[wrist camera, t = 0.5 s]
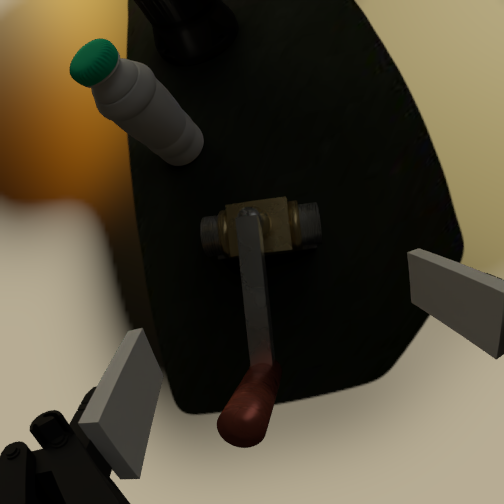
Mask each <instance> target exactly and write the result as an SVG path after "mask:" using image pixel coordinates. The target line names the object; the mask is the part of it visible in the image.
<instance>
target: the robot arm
mask: <svg viewBox="0 0 504 504" xmlns="http://www.w3.org/2000/svg"><path fill="white" fill-rule="evenodd" d="M134 1H135V3H136V4H137V5H138V7H139V8H140V9H141V11H142V12H143V13H144V15H145V16H146V18H147V19H148V20H149V22H150V23H151V25H152V28H153V34H154V40H155V45H156V48H157V50H158V52H159V53H160V54H161V56H162V57H163V58H164V59H165V60H166V61H167V62H169V63H171V64H175V65H182V66H186V65H194V64H199V63H202V62H205V61H208V60H210V59H212V58H214V57H216V56H218V55H219V54H221V53H222V52H223V51H225V50H226V49H227V48H228V47H229V46H230V45H231V44H232V42H233V41H234V39H235V38H236V36H237V32H238V23H237V21H236V18H235V15H234V13H233V12H232V10H231V9H230V8H229V7H228V6H227V5H226V4H225V3H223V2H222V1H221V0H134ZM407 256H408V266H409V276H410V289H411V302H412V303H413V304H415V305H416V306H418V307H419V308H421V309H423V310H424V311H426V312H427V313H429V314H430V315H432V316H433V317H435V318H436V319H438V320H439V321H441V322H442V323H444V324H445V325H447V326H448V327H450V328H451V329H453V330H454V331H456V332H457V333H459V334H460V335H462V336H463V337H465V338H466V339H467V340H469V341H470V342H472V343H473V344H475V345H476V346H478V347H479V348H481V349H482V350H483V351H485V352H486V353H488V354H489V355H491V356H492V357H494V358H495V359H498V358H499V357H501V356H502V355H503V354H504V280H502V279H501V278H498V277H497V278H496V277H495V276H493V275H491V274H488V273H483V272H481V271H479V270H476V269H473V268H471V267H468V266H466V265H463V264H460V263H458V262H455V261H452V260H450V259H447V258H444V257H442V256H439V255H436V254H433V253H431V252H428V251H425V250H422V249H416V250H413V251H410V252H407ZM162 379H163V374H162V372H161V369H160V367H159V366H158V363H157V361H156V358H155V356H154V355H153V351H152V349H151V347H150V345H149V342H148V340H147V338H146V335H145V333H144V330H143V328H140V329H135V330H131V331H128V332H127V334H126V336H125V337H124V339H123V341H122V343H121V344H120V346H119V348H118V350H117V351H116V353H115V355H114V357H113V359H112V360H111V362H110V364H109V366H108V368H107V369H106V371H105V373H104V375H103V377H102V378H101V380H100V382H99V384H98V386H97V387H93V388H92V389H91V390H90V391H89V392H88V393H87V394H86V395H85V397H84V399H83V400H82V402H81V405H80V406H79V408H78V411H77V412H76V413H75V415H74V417H73V419H72V421H71V422H70V424H68V422H67V421H66V419H65V418H64V416H63V415H62V414H61V413H60V412H59V411H56V410H53V411H48V412H45V413H42V414H41V415H39V416H38V417H36V419H35V420H34V421H33V422H32V424H31V426H30V432H31V433H32V434H33V436H34V437H35V438H36V440H37V441H38V442H39V444H40V445H41V447H42V448H43V449H40V450H36V451H31V450H30V449H29V448H28V447H27V445H26V444H25V443H23V442H14V443H12V444H9V445H8V446H6V447H5V449H4V450H3V452H2V453H1V456H0V504H130V503H129V502H128V500H127V499H126V498H125V496H124V495H123V494H122V492H121V491H120V490H119V489H118V487H117V486H116V484H115V483H114V482H113V481H112V480H111V479H110V474H111V471H112V470H113V471H114V472H115V473H116V474H117V476H118V477H119V478H120V479H140V475H141V470H142V466H143V461H144V456H145V451H146V447H147V443H148V438H149V434H150V429H151V425H152V421H153V417H154V412H155V408H156V404H157V400H158V396H159V392H160V388H161V384H162Z"/></svg>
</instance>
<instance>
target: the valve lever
mask: <svg viewBox="0 0 504 504" xmlns="http://www.w3.org/2000/svg"><path fill="white" fill-rule="evenodd" d="M235 221H236V231H237V242H238V252H239V262H240V271H241V281H242V291H243V300H244V310H245V319H246V328H247V338H248V347H249V356H250V365H251V366H250V368H249V370H248V371H247V373H246V374H245V376H244V378H243V379H242V381H241V383H240V384H239V386H238V387H237V389H236V391H235V392H234V394H233V395H232V397H231V399H230V400H229V402H228V403H227V405H226V406H225V408H224V410H223V411H222V413H221V414H220V416H219V418H218V420H217V429H218V432H219V434H220V436H221V437H222V438H223V439H224V440H225V441H226V442H228V443H229V444H231V445H233V446H236V447H241V448H248V447H252V446H255V445H257V444H259V443H260V442H261V441H262V440H263V439H264V437H265V434H266V431H267V428H268V424H269V420H270V417H271V413H272V410H273V406H274V403H275V399H276V395H277V391H278V388H279V384H280V380H281V376H282V368H281V365H280V364H279V362H278V361H276V360H275V353H274V342H273V332H272V322H271V312H270V302H269V292H268V282H267V273H266V263H265V254H264V244H263V235H262V228H263V226H264V219H263V217H262V215H261V214H260V213H259V212H258V211H257V210H256V209H255V208H253V207H245V208H243V209H241V210H240V211H239V213H238V215H237V217H236V218H235Z"/></svg>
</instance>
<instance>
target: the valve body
mask: <svg viewBox="0 0 504 504" xmlns="http://www.w3.org/2000/svg"><path fill="white" fill-rule="evenodd" d="M245 207H253V208H255V209H256V210H257V211H258V212H259V213H260V214H261V215H262V217H263V219H264V226H263V228H262V235H263V244H264V254H265V256H267V255H276V254H284V253H293V252H294V251H301V250H310V249H317V244H322V232H321V223H320V215H319V209H318V204H317V202H315V203H306V204H298V202H297V200H296V201H288V202H287V199H286V197H279V198H272V199H264V200H257V201H250V202H243V203H236V204H229V205H226V210H222V211H220V212H219V215H216V216H209V217H204V218H202V221H201V226H200V234H201V242H202V246H203V249H204V252H205V254H206V255H207V256H208V257H210V256H218V259H221V260H222V259H231V258H239V252H238V242H237V231H236V221H235V218H236V217H237V215H238V213H239V211H240V210H241V209H243V208H245Z"/></svg>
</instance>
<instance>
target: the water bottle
mask: <svg viewBox="0 0 504 504" xmlns="http://www.w3.org/2000/svg"><path fill="white" fill-rule="evenodd" d="M70 75H71V76H72V78H73V79H74V80H75V81H76V82H78V83H79V84H81V85H83V86H85V87H89V88H91V89H92V94H93V96H94V99H95V103H96V106H97V108H98V110H99V112H100V113H101V114H102V115H103V116H104V117H106V118H107V119H109V120H112V121H113V122H114V123H116V124H117V125H118V126H119V127H120V128H121V129H123V130H124V131H125V132H126V133H128V134H129V135H130V136H132V137H133V138H135V139H136V140H138V141H139V142H141V143H142V144H144V145H146V146H147V147H148V148H149V149H150V150H151V151H152V152H154V153H155V154H157V155H159V156H160V157H161V158H162V159H163V160H164V161H166V162H167V163H169V164H171V165H174V166H183V165H186V164H189V163H190V162H192V161H193V160H195V159H196V158H197V157H198V155H199V154H200V152H201V150H202V148H203V143H204V138H203V134H202V132H201V130H200V129H199V128H198V126H197V125H196V124H195V123H194V122H192V120H191V118H190V117H189V116H188V114H187V113H186V112H185V111H183V110H182V109H181V107H180V105H179V104H178V102H177V101H176V100H175V99H174V97H173V96H172V95H171V94H170V92H169V91H168V90H167V89H166V88H165V87H164V86H163V84H162V83H161V82H160V81H158V80H157V79H156V78H155V76H154V74H153V72H152V71H151V69H150V68H149V67H147V66H146V65H144V64H142V63H139V62H135V61H130V60H128V59H121V58H120V55H119V53H118V51H117V49H116V48H115V46H114V45H113V44H112V43H111V42H110V41H108V40H106V39H95V40H92V41H91V42H89V43H87V44H85V46H83V47H82V48H81V49H80V50H79V51H78V52H77V54H76V55H75V56H74V58H73V60H72V61H71V64H70Z"/></svg>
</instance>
